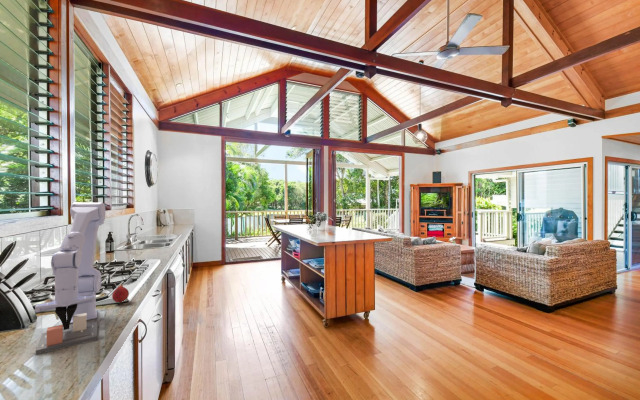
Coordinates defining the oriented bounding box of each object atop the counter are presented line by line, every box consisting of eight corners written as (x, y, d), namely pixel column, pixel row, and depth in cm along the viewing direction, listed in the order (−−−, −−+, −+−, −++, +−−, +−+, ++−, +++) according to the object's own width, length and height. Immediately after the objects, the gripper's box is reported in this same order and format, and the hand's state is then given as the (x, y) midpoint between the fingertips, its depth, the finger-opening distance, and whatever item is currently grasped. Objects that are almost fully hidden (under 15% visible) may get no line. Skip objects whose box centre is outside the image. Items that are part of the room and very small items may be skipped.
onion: (120, 306, 117) (120, 287, 117) (108, 305, 119) (108, 286, 118) (132, 301, 123) (132, 283, 123) (121, 300, 124) (121, 282, 124)
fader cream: (73, 328, 95) (73, 315, 95) (86, 326, 97) (86, 312, 97) (73, 331, 93) (73, 318, 92) (86, 328, 95) (86, 315, 95)
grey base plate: (42, 337, 91) (42, 333, 91) (97, 325, 100) (97, 321, 100) (35, 354, 81) (35, 350, 81) (97, 339, 90) (97, 335, 90)
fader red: (47, 342, 86) (47, 327, 86) (62, 339, 88) (62, 324, 88) (46, 346, 84) (46, 330, 84) (62, 342, 86) (62, 327, 86)
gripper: (33, 295, 85) (33, 339, 85) (94, 286, 94) (94, 326, 94) (37, 289, 90) (37, 331, 90) (95, 281, 99) (94, 319, 99)
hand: (66, 328), depth 93 cm, fingers closed
